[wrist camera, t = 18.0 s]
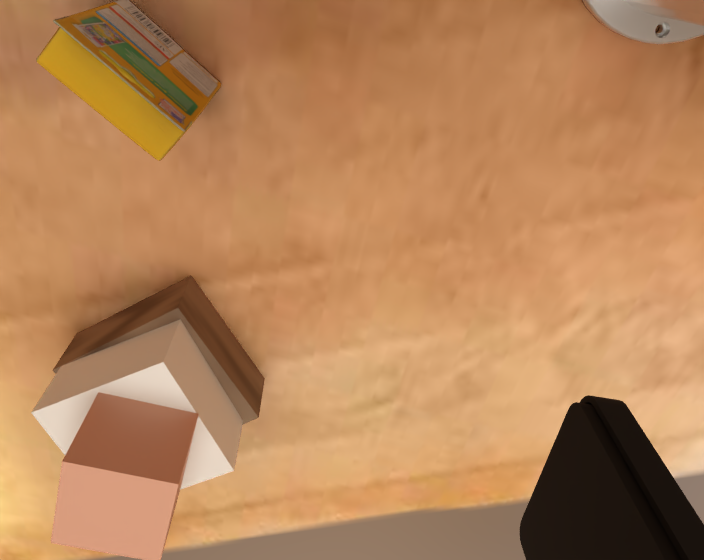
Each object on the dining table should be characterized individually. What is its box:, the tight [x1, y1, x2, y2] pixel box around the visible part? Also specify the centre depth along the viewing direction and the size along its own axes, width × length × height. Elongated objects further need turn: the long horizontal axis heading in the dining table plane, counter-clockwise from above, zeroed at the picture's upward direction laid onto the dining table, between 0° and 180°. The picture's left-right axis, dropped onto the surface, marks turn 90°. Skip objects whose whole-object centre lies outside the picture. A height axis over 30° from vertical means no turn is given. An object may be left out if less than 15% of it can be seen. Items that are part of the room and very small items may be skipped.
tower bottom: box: [53, 276, 264, 425], centre depth 48 cm, size 10×10×5 cm
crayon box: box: [36, 0, 221, 161], centre depth 36 cm, size 7×3×12 cm, turn 46°
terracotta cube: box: [51, 392, 199, 560], centre depth 39 cm, size 6×6×6 cm
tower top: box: [31, 320, 243, 489], centre depth 44 cm, size 9×9×5 cm
